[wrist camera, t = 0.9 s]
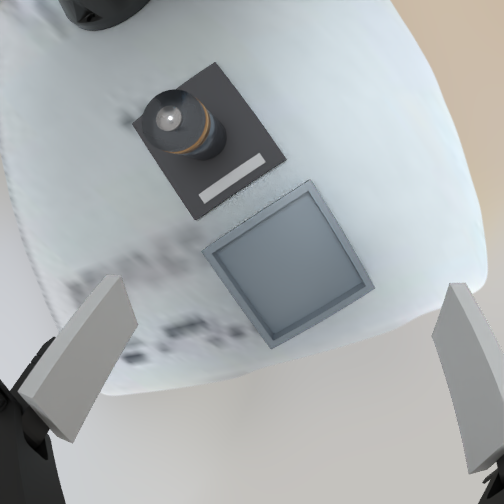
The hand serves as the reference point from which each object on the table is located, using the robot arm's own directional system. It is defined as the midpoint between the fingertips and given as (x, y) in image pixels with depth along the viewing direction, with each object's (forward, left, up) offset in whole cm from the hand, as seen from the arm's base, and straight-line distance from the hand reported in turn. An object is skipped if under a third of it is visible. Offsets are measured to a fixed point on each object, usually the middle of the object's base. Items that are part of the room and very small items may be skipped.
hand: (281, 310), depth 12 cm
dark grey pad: (-13, -2, -24) cm, 27 cm away
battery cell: (-13, -2, -23) cm, 27 cm away
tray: (+4, -2, -24) cm, 24 cm away
